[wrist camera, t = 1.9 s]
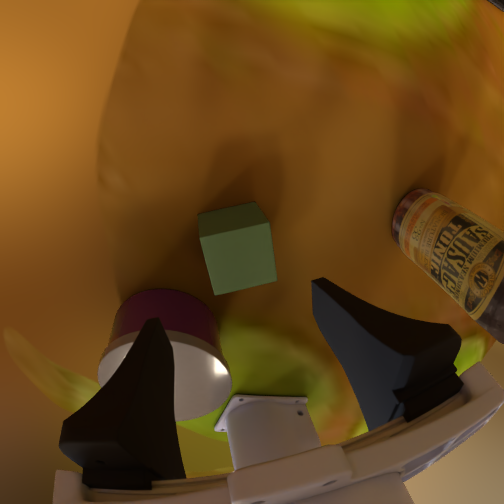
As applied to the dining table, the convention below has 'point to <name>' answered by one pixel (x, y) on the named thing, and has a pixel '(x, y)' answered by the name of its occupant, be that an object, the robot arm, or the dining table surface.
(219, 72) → the dining table surface
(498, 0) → the phone
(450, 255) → the sauce bottle
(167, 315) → the jar
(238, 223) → the block
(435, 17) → the dining table surface
